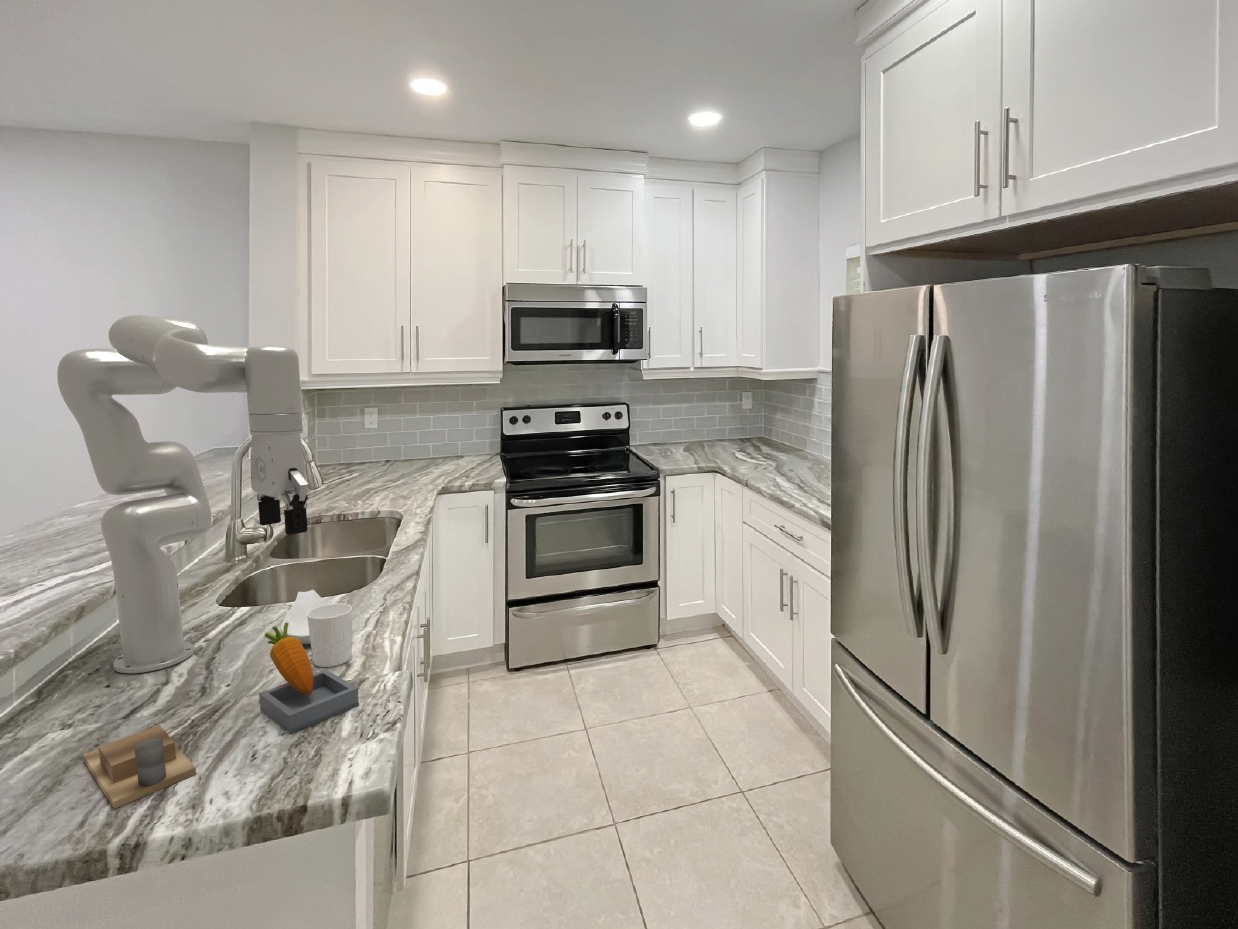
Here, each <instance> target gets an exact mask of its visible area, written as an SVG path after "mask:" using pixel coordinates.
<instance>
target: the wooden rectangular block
mask: <svg viewBox="0 0 1238 929" xmlns="http://www.w3.org/2000/svg"><path fill="white" fill-rule="evenodd" d="M152 738H161V739H162V740H163V747H164V756H165V763H167V762H169V761H172V760H174V759H176V751H175V745H176V744H175V743H176V742H175V740H173V739H172V737H171V736H170V735H169V734H168V733H167V732H166V730H164V729H163V727H162V726H161V725H160V724H159V725H156V726H153V727H150V728H147V729H144V730H142V731H139V732H135V733H133V734H129V735H127V736H125V737H121V738H118V739H115V740H113V741H110V742H108V743H104V744H101V745H98V748H97V749H99V756H100V764H101V765H102V767H103V768H104V770H105V771H106V773H107V774H108V776H109V778H110V779H111V781H112V782H113V784H114V783H117V782H119V781H122V780H124V779H127V778H129V777H132V776H134V775H137V767H136V758H135V749H134V748H135V746H136V745H137V744H139V743H141V742H143V741H145V740H148V739H152Z"/></svg>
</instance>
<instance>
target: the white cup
mask: <svg viewBox="0 0 1238 929" xmlns="http://www.w3.org/2000/svg"><path fill="white" fill-rule="evenodd" d="M307 620H308V628H309V636H310V641H311V644H310V648H311V652H312V660H313V664H314V665H315V666H316V667H319V668H332V667H337V666H340V665H343V664H345V663H347V662H349V661H350V660H351V659H352V655H353V653H352V651H353V648H352V644H353V607H352V605H351V604H348V603H328V605H323V606H319V607H316V608H314V609H312V610H310V611H309V612H308V613H307Z"/></svg>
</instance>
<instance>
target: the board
mask: <svg viewBox="0 0 1238 929" xmlns="http://www.w3.org/2000/svg"><path fill="white" fill-rule="evenodd" d="M134 749H135V758H136V767H137V775H134V776H132V777H129V778H127V779H124V780H122V781H119V782H117V783H114V784H113V782H112V781H111V779H110V778H109V776H108V774H107V773H106V771H105V770H104V768H103V767H102V765H101V764H100V756H99V748H97V749H95V750H91V751H88V752H86V753H83V754H82V758H83V762H84V764H85V765H86V767H87V769H88V770H89V772H90V773H91V775H92V776H93V778H94V780H95V781H96V783H97V784H98V786H99V788H100V789H101V791H102V793H103V794H104V795H105V797H106V799H107V800H108V802H109V804H110V805H111V807H112V809H113V810H115V809H118V808H120V807H122V806H125V805H127V804H129V803H131V802H134V801H136V800H139V799H141V798H144V797H146V796H148V795H150V794H153V793H155V792H157V791H160V790H162V789H165V788H167V787H169V786H173V785H174V784H176V783H179V782H181V781H183V780H187V779H188V778H190V777H193V776H195V775H197V769H196V768H197V767H196V765H194V764H193V763H192V762H191V761H190V760H189V759H188V757H187V756H186V755H185V754H184V753H183V752H182V751H181V750H180V749H179V748H178V746H177V745H176V744H175V751H176V759H174V760H172V761H169V762H167V763H165V756H164V747H163V740H162V739H161V738H152V739H148V740H145V741H143V742H141V743H139V744H137V745H136V746H135V748H134Z"/></svg>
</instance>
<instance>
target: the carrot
mask: <svg viewBox="0 0 1238 929" xmlns="http://www.w3.org/2000/svg"><path fill="white" fill-rule="evenodd" d="M288 624H289V623H287V622H285V624H284V628H283V634H282V632H281V630H279V628H278V627H277V626H276V625H274V626H272V627H271V629H272V630H273V631H274V633H275V634H273V633H271V632H270V631H267V632H265V634H264V637H265V639H268V640H269V641H268V642H267V644H270V645H271V644H272V646H271V649H270V652H269V657H270V660H271V661H272V662H273V664H274V666H275V668H276V669H277V671H278V673H279V674H280V675H281V677H282V678H283V679H284V680H285V682H287V683H289V684H290V685H291V686H292V687H293V688H295V689H296V690H297V691H299V692H301V693H303V694H305V695H311V693H312V690H313V674H314V672H313V668H312V665H311V662H310V659H309V656H308V654H307V652H306V649H305V647H304V646H303V644H301V642H300V641H299V640H298V639H296V638H294V637H287V630H288Z"/></svg>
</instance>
